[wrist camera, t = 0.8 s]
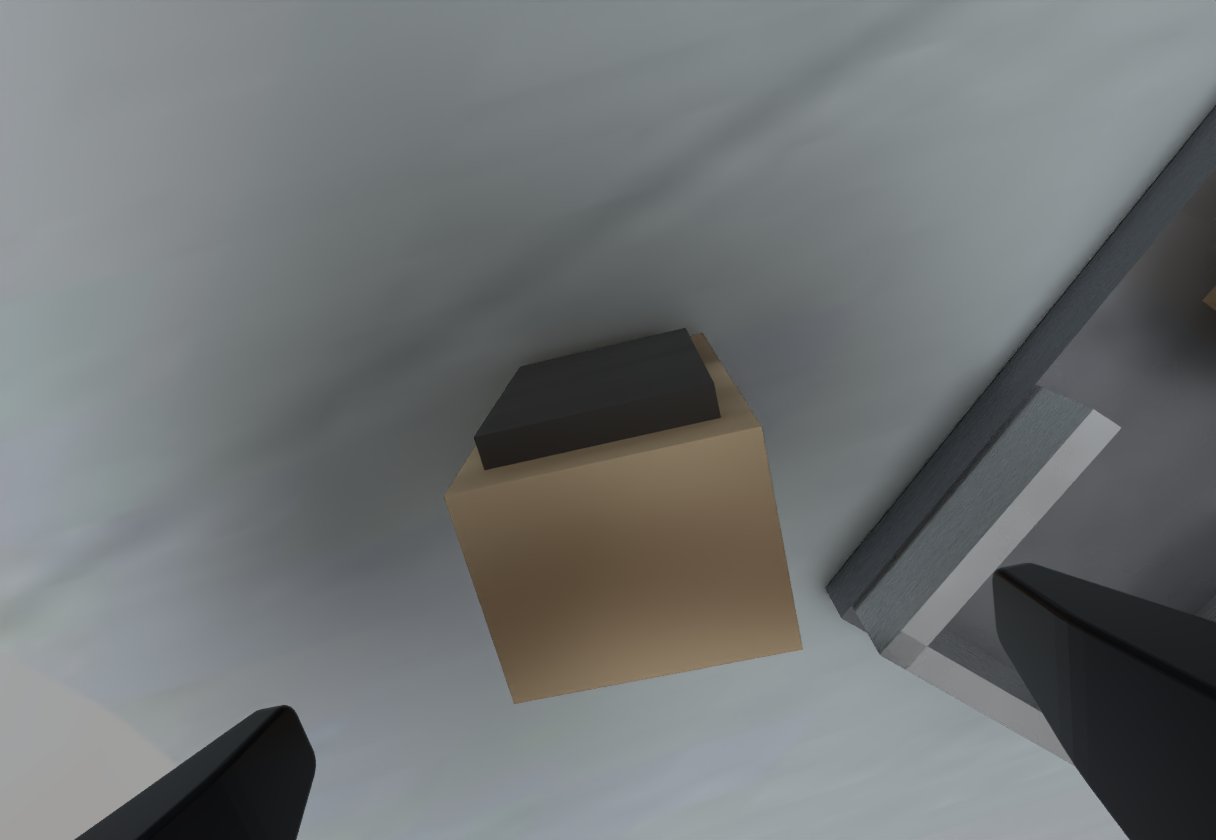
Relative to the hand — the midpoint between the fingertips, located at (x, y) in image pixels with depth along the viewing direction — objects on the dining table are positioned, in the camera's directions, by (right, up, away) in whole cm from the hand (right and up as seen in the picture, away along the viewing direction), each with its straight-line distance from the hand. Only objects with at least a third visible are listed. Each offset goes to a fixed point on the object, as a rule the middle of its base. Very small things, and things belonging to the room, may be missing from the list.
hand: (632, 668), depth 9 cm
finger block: (0, +3, +10) cm, 11 cm away
